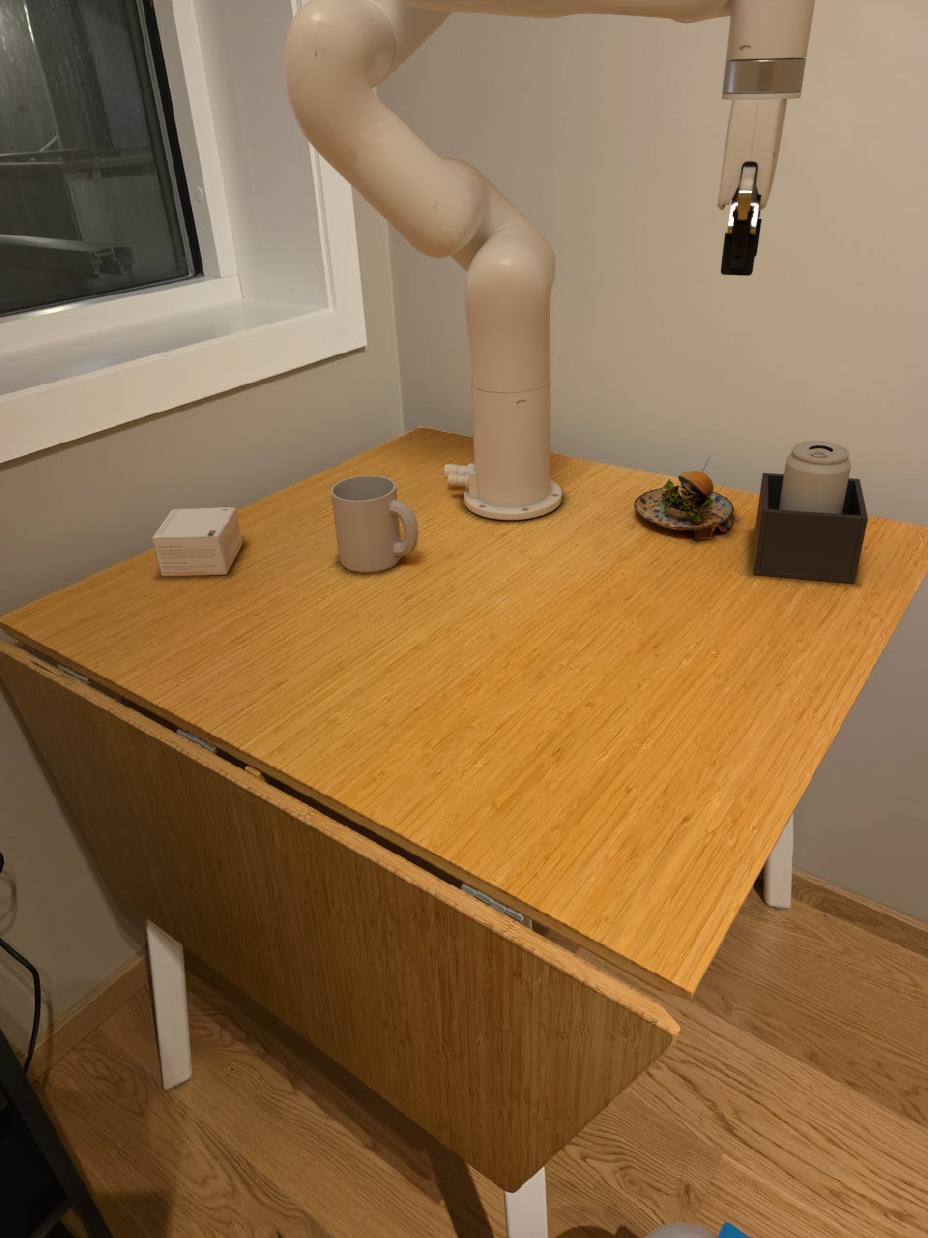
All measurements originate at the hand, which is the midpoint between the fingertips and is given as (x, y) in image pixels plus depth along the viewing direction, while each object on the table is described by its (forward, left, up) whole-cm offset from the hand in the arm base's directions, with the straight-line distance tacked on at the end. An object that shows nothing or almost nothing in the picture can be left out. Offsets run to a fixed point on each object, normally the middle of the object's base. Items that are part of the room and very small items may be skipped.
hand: (739, 265), depth 98 cm
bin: (+10, -12, -28) cm, 32 cm away
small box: (-57, -26, -29) cm, 69 cm away
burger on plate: (-3, -5, -29) cm, 29 cm away
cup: (-36, -22, -29) cm, 51 cm away
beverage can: (+10, -12, -28) cm, 32 cm away
